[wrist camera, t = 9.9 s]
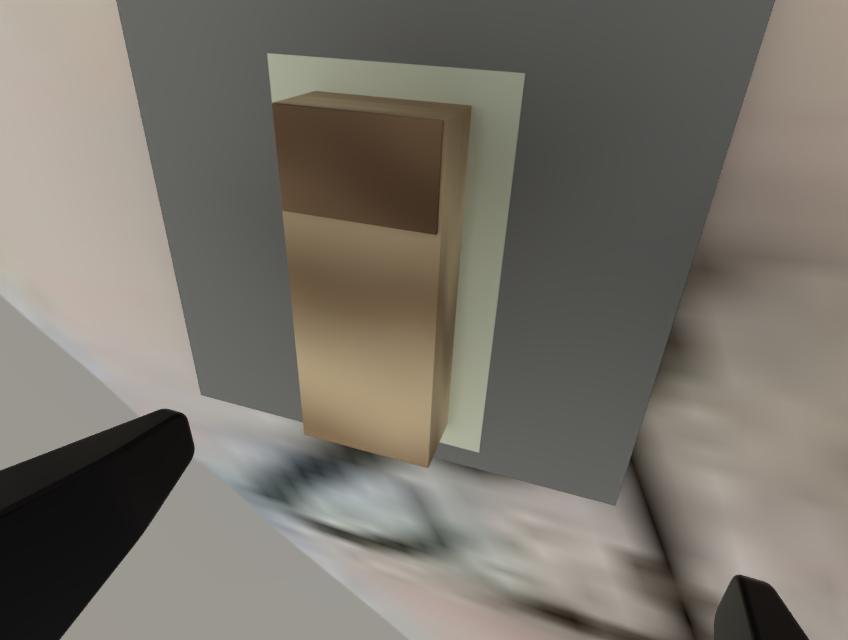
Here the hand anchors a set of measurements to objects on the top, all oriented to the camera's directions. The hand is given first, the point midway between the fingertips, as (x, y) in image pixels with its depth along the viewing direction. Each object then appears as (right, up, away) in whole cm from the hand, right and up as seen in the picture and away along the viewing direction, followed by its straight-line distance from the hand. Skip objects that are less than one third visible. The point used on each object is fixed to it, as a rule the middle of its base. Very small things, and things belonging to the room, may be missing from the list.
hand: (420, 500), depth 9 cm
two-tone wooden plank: (-1, +4, +11) cm, 12 cm away
